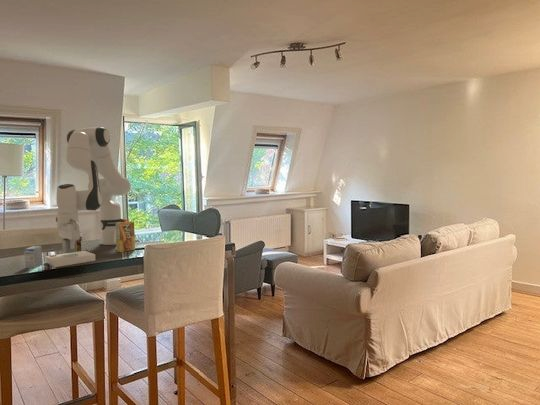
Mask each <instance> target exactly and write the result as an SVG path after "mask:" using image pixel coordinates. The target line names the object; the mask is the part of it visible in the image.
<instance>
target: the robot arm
mask: <svg viewBox="0 0 540 405" xmlns="http://www.w3.org/2000/svg"><path fill="white" fill-rule="evenodd" d="M110 137H111V136H110V133H109V130H107V128H105V127H103V126H95V127H94V126H93V127H89V126H88V127H85V128H78V129H72V130H70V131H69V132H68V133H67V134H66V142H67V147H66V156H65V157H66V159H65V160H66V162H67V163H68V164H67V165H69V166H70V167H71V168H72V169H75V170H77V171H79V172H83V173H86V174H87V175H88V176H87V177H88V184H87V188H88V189H85V190H77V189H76V186H75V184H73V183H72V184H71V183H66V184H64V183H63V184H60V185H58V186H57V188H56V198H55V199H56V206H57V212H56V214H57V215H56V217H55V222H56V226H57V234H58V236H59V237H61V238H62V239H69V240H70V245H69V246H70V249H74V248H75V246H74V245H75V240H79V239H80V236H81V233H80V232H81V231H80V226H79V211H97V210H98V209H100V229H101V230H100V231H101V232H100V241H99V245H104V246H108V245H109V246H110V245H111V246H115V245H116V224H115V223H120V222H128V219H126V218H124V219H123V218H122V212H121V211H122V210H121V209H122V208H121V204H119V203H118V202H116V201H115V200H114V198H113V196H114V197H117V196H119V197H120V196H123V195H127V194H129V192H130V191H131V186H132V184H131V182H130V180H129V179H128V178H127V177H125V176H123V175H122V174H121V173H120V172H119V170H118V169H117V167H116V166H115V163H114V159H113V156H112V154H111V150H110V147H109V143H110V140H111V139H110ZM99 175H100V176H99ZM134 234H135V232H134ZM135 235H136V234H135ZM136 242H140V238H139V237H136V236H135V243H136ZM116 246H117V245H116Z"/></svg>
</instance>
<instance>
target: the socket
mask: <svg viewBox="0 0 540 405" xmlns="http://www.w3.org/2000/svg"><path fill="white" fill-rule="evenodd" d="M95 261H96V254H95V253H92V252H89V251H87V250H81V251H79V252H74V253H67V254H64V253H59V254H52V255H46V256H45V263H46V264H47V265H50V266H52V267H54V268H59V267H64V266H70V265H71V266H72V265H77V264H82V263H84V264H85V263H90V262H95Z"/></svg>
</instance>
